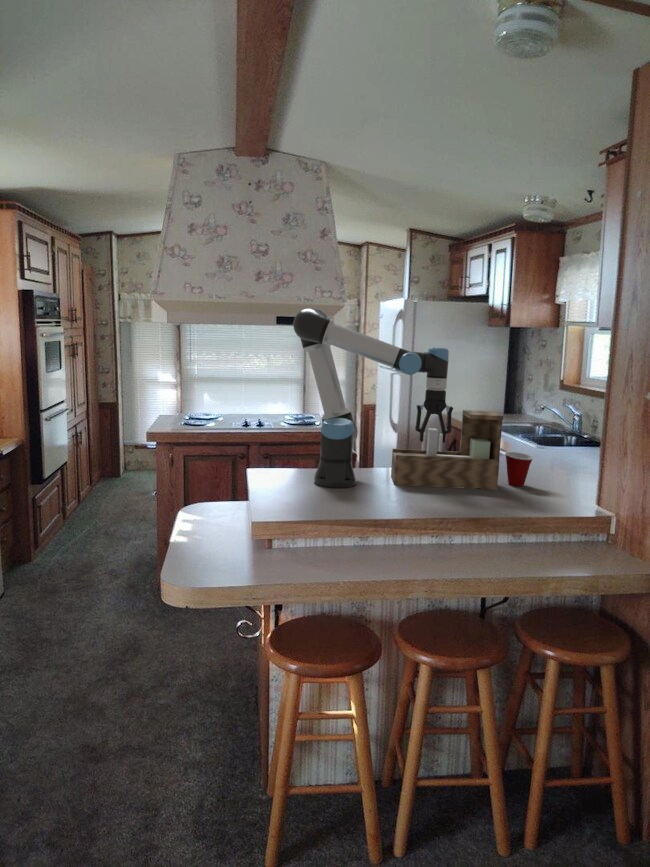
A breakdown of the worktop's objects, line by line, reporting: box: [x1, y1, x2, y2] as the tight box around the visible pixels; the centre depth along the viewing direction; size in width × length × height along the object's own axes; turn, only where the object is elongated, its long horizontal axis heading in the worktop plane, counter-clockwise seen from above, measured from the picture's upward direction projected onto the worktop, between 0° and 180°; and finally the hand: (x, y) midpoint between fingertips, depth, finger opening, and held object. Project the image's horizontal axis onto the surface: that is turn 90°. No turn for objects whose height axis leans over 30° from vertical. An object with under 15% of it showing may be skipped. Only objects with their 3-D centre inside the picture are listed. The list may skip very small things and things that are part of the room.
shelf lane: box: [390, 409, 504, 490], centre depth 249 cm, size 38×14×28 cm, turn 89°
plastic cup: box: [504, 451, 535, 487], centre depth 253 cm, size 11×11×12 cm
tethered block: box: [426, 427, 490, 459], centre depth 249 cm, size 22×7×10 cm, turn 89°
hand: (431, 450), depth 249 cm, fingers open, 6 cm apart
